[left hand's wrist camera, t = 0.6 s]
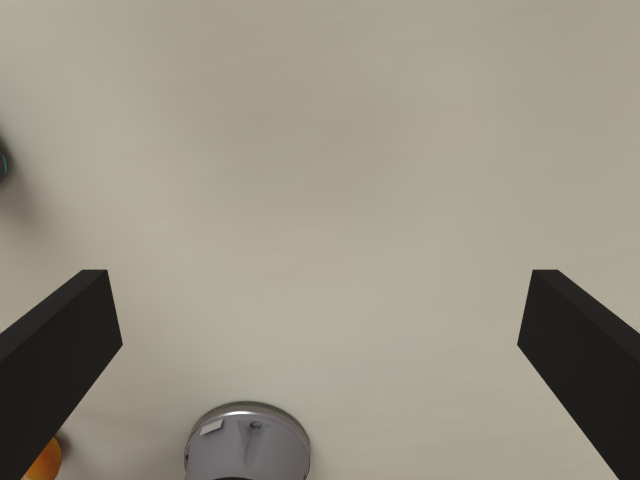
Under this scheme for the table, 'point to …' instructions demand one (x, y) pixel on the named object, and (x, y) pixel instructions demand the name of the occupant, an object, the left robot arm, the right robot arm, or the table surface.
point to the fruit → (46, 463)
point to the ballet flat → (2, 167)
